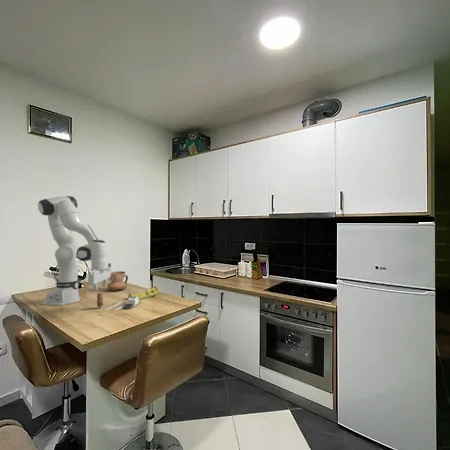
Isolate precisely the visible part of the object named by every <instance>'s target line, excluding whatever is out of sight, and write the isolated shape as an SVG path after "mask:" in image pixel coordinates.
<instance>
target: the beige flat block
mask: <svg viewBox="0 0 450 450" xmlns="http://www.w3.org/2000/svg"><path fill="white" fill-rule="evenodd" d="M142 303H143V301H139V302H138V303H137V304H136V305H133V304H127V301H115V302H113V303H112V304H110V305H109V306H107V307H106V308H104V309H103V310H104V311H105V310H106V311H109V310H110V311H113V310H114V311H117V310H118V311H134V310H135V309H137V308H138V306H140V305H141V304H142Z"/></svg>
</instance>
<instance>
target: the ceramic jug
mask: <svg viewBox="0 0 450 450" xmlns="http://www.w3.org/2000/svg"><path fill="white" fill-rule="evenodd" d="M124 279H125V280H124ZM107 280H110V283H108V284H106V288H107V290H109V291H112V292H119V291H123V290H125V289H126V288H127V287H128V286H127V283H128V280H129V276H128V275H127V274H126V271H125V270H124V271H123V270H122V271H121V270H118V271H111V277H110V278H108V279H107ZM123 280H124V281H123Z"/></svg>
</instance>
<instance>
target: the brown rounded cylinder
mask: <svg viewBox="0 0 450 450" xmlns="http://www.w3.org/2000/svg"><path fill="white" fill-rule="evenodd" d="M103 305H104V293H102V292H99V293H96V306H97V309H100V310H101V309H102V308H103Z"/></svg>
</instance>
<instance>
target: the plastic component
mask: <svg viewBox="0 0 450 450" xmlns="http://www.w3.org/2000/svg"><path fill="white" fill-rule="evenodd" d="M159 291H160V288H158V286H157V285H154V286H152V287H151V288H148V289H147V290H146V291H143V292H138V293H135V294H132V292H130V291H129V292H128V296H127V298H128V299H129V298H130V297H132V296H137V297H139V301H141V300H145V299H150V298H151V297H154V296H156V295H157V294H158V293H159Z"/></svg>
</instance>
